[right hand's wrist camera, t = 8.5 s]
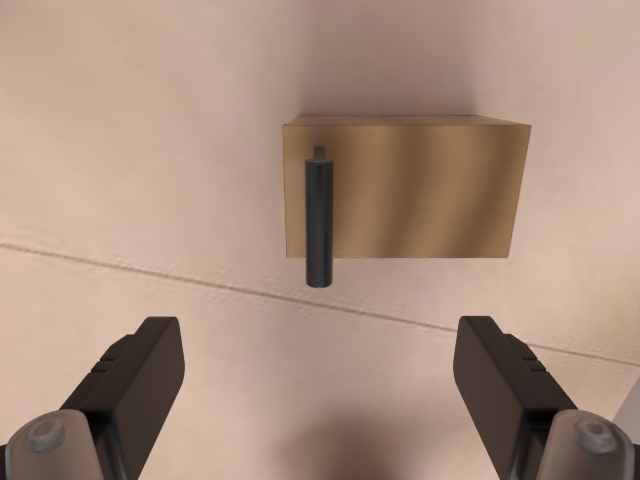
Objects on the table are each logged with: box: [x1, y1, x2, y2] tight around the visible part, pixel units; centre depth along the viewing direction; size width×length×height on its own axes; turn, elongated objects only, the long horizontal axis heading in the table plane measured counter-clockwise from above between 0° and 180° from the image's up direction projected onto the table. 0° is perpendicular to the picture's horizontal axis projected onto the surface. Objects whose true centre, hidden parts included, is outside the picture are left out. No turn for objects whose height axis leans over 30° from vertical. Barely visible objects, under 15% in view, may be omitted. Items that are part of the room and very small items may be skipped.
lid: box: [282, 124, 531, 288], centre depth 25 cm, size 16×9×8 cm, turn 90°
